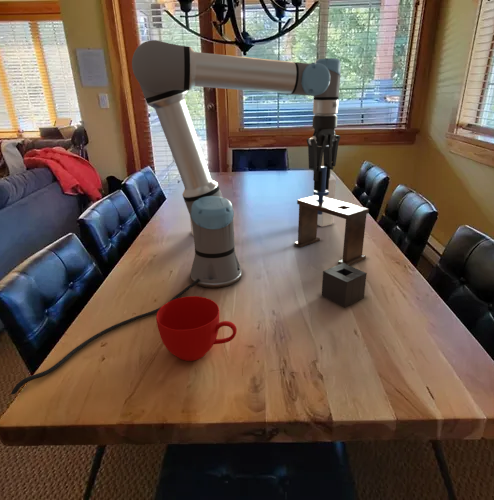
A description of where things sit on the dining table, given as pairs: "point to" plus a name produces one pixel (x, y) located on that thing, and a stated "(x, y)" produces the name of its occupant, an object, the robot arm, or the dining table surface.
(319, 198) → the peg
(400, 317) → the dining table surface
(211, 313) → the ceramic cup
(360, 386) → the dining table surface
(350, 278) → the holder
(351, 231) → the stand
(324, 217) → the milk
